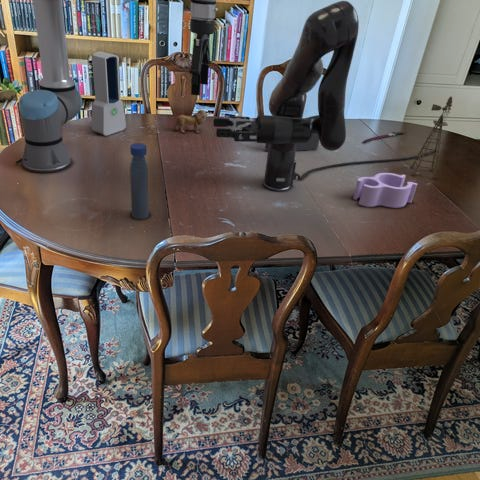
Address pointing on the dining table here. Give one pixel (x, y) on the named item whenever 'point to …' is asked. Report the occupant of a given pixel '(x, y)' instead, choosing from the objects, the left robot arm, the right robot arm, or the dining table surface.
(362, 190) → the clip
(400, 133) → the sword
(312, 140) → the handheld gaming console
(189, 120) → the lion figurine
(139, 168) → the bottle
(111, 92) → the electronic device
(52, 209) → the dining table surface
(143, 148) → the cap
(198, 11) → the left robot arm
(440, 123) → the miniature windmill
